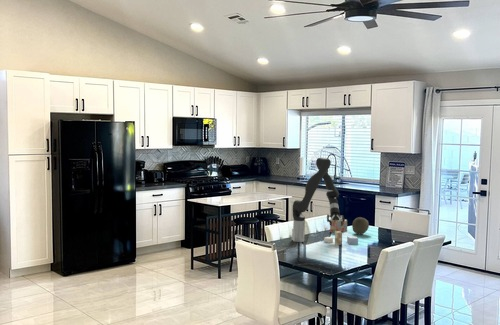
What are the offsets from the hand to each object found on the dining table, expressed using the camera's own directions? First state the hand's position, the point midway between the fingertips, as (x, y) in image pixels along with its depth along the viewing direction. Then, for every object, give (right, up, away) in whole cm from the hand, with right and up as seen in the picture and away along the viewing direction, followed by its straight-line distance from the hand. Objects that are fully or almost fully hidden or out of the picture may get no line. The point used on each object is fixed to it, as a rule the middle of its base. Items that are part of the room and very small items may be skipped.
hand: (336, 225), depth 390 cm
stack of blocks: (+10, -11, +45) cm, 48 cm away
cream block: (-7, -13, -1) cm, 15 cm away
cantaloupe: (+27, -12, +33) cm, 44 cm away
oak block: (0, -14, -9) cm, 16 cm away
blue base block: (+12, -14, -4) cm, 19 cm away
